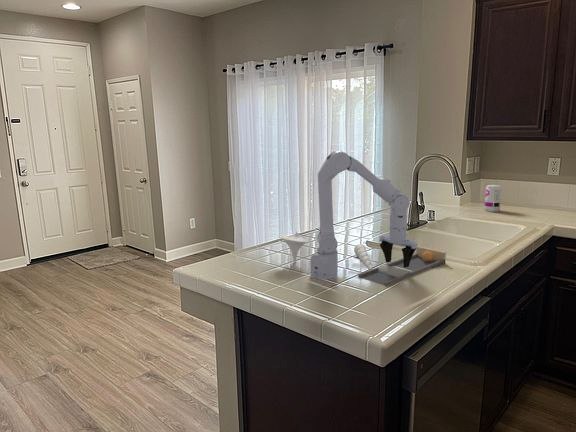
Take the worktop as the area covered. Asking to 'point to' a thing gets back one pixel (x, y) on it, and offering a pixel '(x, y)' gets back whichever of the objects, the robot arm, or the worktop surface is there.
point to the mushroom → (294, 243)
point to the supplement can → (492, 198)
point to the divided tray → (397, 270)
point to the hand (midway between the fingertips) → (397, 264)
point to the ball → (427, 256)
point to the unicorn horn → (363, 255)
